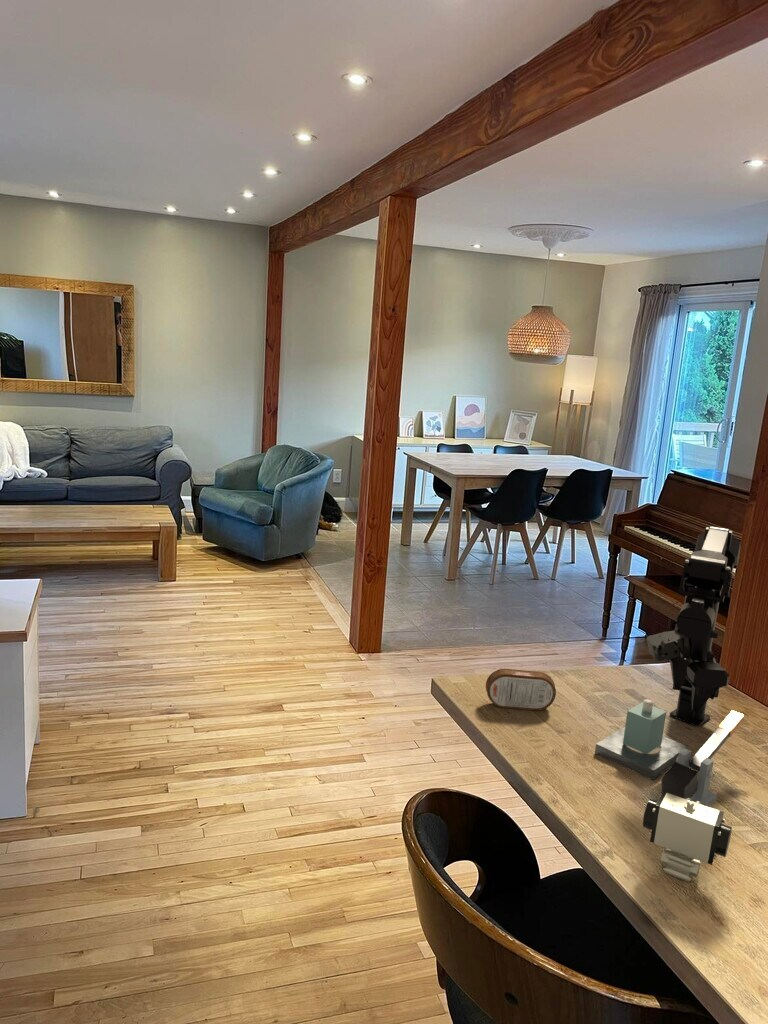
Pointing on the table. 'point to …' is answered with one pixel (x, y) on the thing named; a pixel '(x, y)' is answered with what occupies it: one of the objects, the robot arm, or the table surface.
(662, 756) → the press bed
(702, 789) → the lever stand
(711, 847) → the pneumatic valve
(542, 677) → the tin
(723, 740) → the lever
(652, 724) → the block
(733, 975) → the table surface
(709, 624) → the robot arm
